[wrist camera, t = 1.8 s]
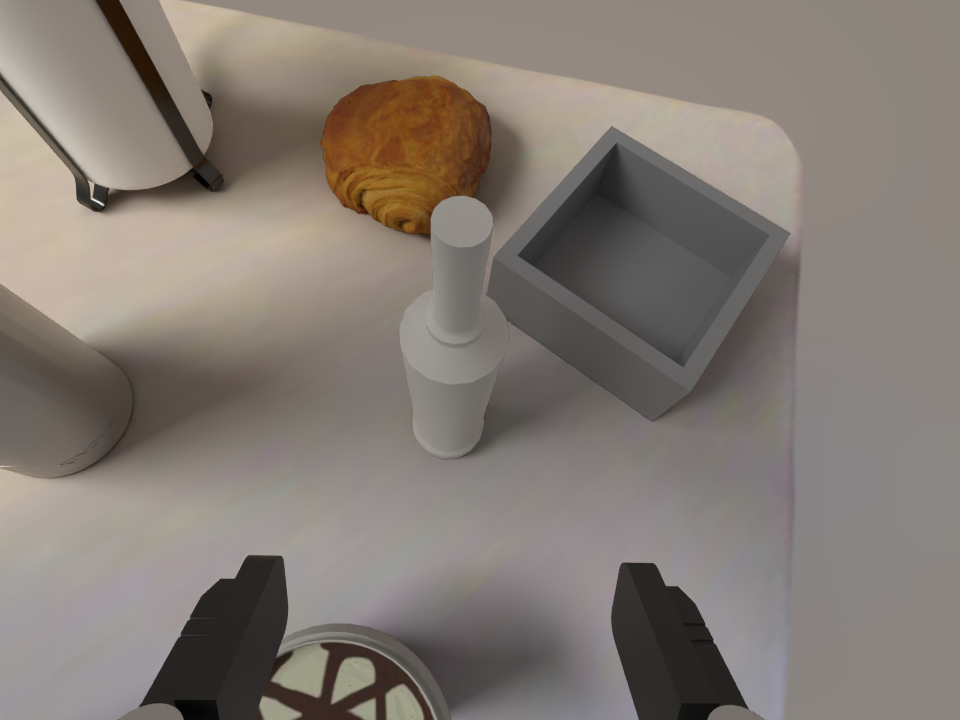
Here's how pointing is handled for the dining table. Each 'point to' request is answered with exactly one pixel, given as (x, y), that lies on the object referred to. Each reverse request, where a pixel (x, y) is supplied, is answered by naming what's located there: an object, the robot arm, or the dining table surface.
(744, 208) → the charcoal tub
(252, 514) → the dining table surface
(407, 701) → the food container
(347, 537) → the dining table surface
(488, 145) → the croissant
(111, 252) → the dining table surface
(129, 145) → the coffee press
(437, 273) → the bottle
